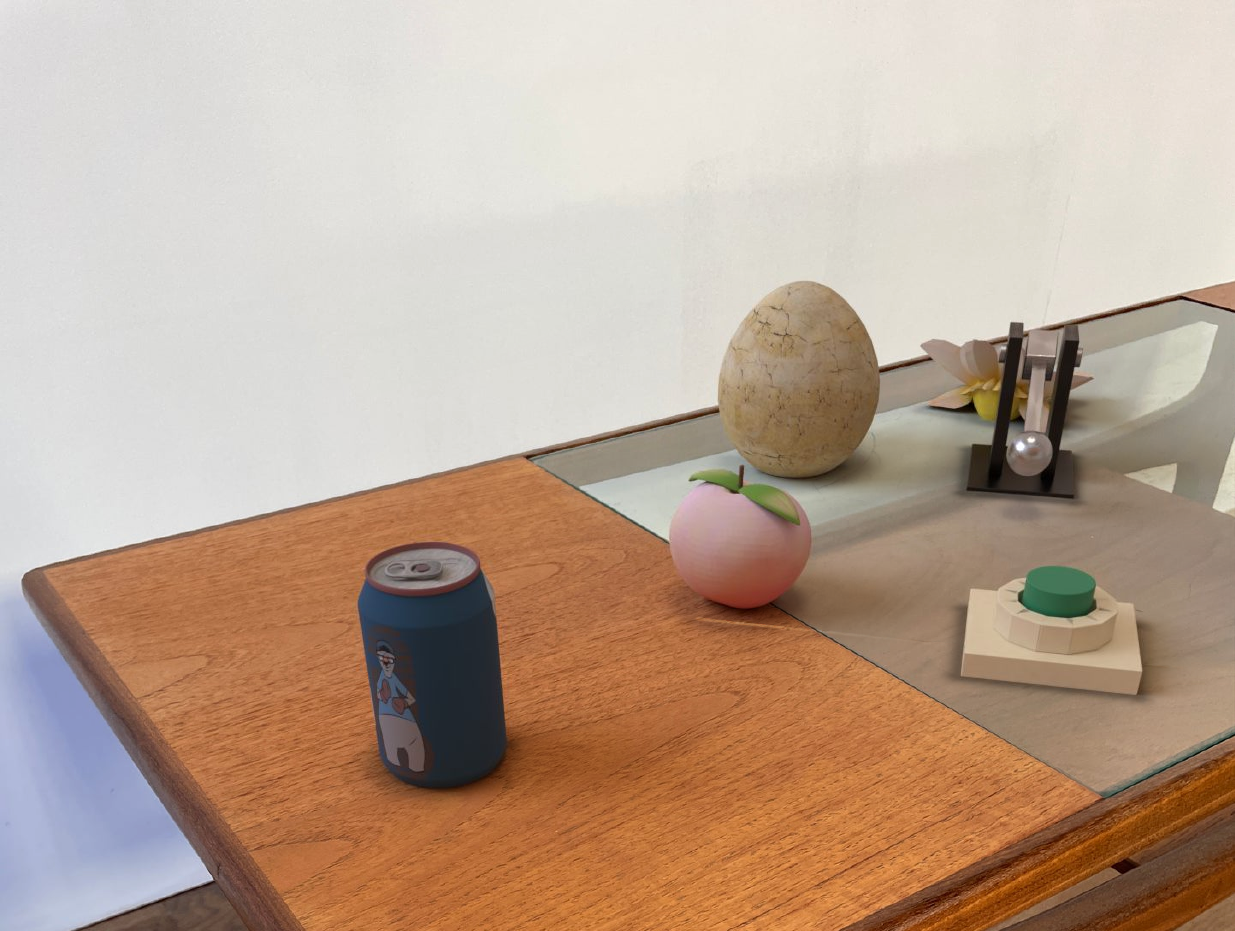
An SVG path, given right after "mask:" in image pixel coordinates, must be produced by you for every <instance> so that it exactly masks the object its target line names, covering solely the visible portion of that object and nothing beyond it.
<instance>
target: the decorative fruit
mask: <svg viewBox="0 0 1235 931" xmlns="http://www.w3.org/2000/svg"><path fill="white" fill-rule="evenodd" d="M744 475H745V465H744V464H740V465H739V466H738V474H736V473H735V472H733V471H731V470H728V469H724V468H710V469H705V470H698V471H696V472H694V473H693V474H691V475H690V477H689V479H688V482H691V483H692V482H696V481H698V480H700V481H703V482H701V483H699V484H697V485H696V486H694V487H693V488H692V489H691V490H690V491H689V493H687V495H686V496H685V497H684V498H683V500H682V501H681V502H680V504H679V505H678V506H677V509H676V510H675V512H674V514H673V516H672V518H671V521H670V524H669V528H668V529H669V530H668V543H669V550H670V555H671V558H672V561H673V564H674V566H675V568H676V571H677V572H678V574H679V576H680V578H681V579H682V580H683V582H684V583H685V584H686V585H687V586H688V587H689V588H690V589H691V590H692V591H693V592H695V593H696V594H698V595H699V596H701V597H703V598H705V599H707V600H709V601H711V602H712V601H713V602H715V603H718V604H722V605H725V606H728V607H731V608H735V609H740V610H741V609H742V610H747V609H748V610H749V609H755V608H759V607H762V606H765V605H767V604H769V603H771V602H773V601H774V600H776V599H777V598H778V597H780V596H781V595H783V594H784V593H785V592H787V590H789V589H790V588H791V587H792V586H793V585H795V584H794V583H796V581H797V580H798V579H799V577H800V576H801V574H802V573H803V571H804V569H805V568H806V566H807V563H808V560H809V558H810V555H811V550H812V528H811V523H810V521H809V519H808V515H807V514H806V511H805V510H804V508H803V506H802V505H801V504H800V503H799V502H798V500H797V499H796V498H795V497H793V496H792V495H791V494H790V493H789V492H787V491H786V490H784V489H782V488H781V487H780V488H779V487H776V486H774V485H770V484H763V483H751V482H749V481H748V480H747V479H744Z"/></svg>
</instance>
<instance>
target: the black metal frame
mask: <svg viewBox="0 0 1235 931" xmlns="http://www.w3.org/2000/svg"><path fill="white" fill-rule="evenodd" d="M1024 326H1025V323H1024V322H1021V321H1020V322H1019V321H1010V322H1009V329H1008V336H1007V342H1006V343H1007V344H1005V343H1000V345H999V348H1000V352H999V359H998V363H1004V367H1003V373H1002V380H1001V386H1000V393H999V399H998V406H997V412H996V419H995V421H994V427H993V433H992V439H991V444H984V443H983V444H982V443H981V444H980V443H972V444H971V450H970V459H969V467H968V475H967V483H966V491H967V492H978V493H992V494H993V493H994V494H1006V495H1017V496H1018V495H1020V496H1031V497H1045V498H1056V499H1057V498H1059V499H1070V500H1071V499H1072V500H1074V498H1075V485H1074V467H1073V451H1072V450H1068V449H1061V444H1062V443H1061V442H1062V437H1063V433H1064V432H1063V431H1064V427H1065V421H1066V415H1067V411H1068V410H1067V409H1068V405H1069V401H1070V400H1069V399H1070V394H1071V390H1070V389H1071V384H1072V379H1073V373H1074V371H1075V368H1081V364H1082V361H1083V352H1084V348H1083V347H1079V346H1080V332H1079V325H1078V324H1064V325H1063V331H1062V336H1061V342H1060V348H1059V354H1058V360H1057V364H1056V371H1055V372H1056V375H1055V381H1054V387H1053V392H1052V397H1051V398H1050V402H1049V405H1050V409H1049V415H1048V420H1047V426H1046V432H1044V435H1045V436H1047V438H1048V439H1049V440H1050V442H1051V445H1052V458H1051V461H1050V463H1049V465H1048V466H1047V467H1046V468H1045V469H1044V470H1043V471H1042V472H1040V473H1038V474H1036V475H1033V476H1022V475H1019V474H1017V473H1015V472H1014V471H1013V470H1012V469H1011V468H1010V466H1009V465H1008V462H1007V457H1006V453H1007V448H1008V446H1009V445H1007V441H1008V436H1009V428H1010V422H1011V421H1010V417H1011V411H1012V405H1013V399H1014V392H1015V386H1016V380H1017V374H1018V367H1019V361H1020V355H1021V349H1022V348H1023V343H1024V330H1025V329H1024Z"/></svg>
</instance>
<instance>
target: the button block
mask: <svg viewBox="0 0 1235 931" xmlns="http://www.w3.org/2000/svg"><path fill="white" fill-rule="evenodd" d="M1025 582H1026V577H1021V578H1020V577H1019V578H1015V579H1012V580H1010V581H1008V582H1007V583H1005V584H1003V585H1002V586H1000V587H999V588H998V590H991V589H980V588H970V591H969V598H968V603H967V612H966V622H965V632H964V643H963V649H962V660H961V670H960V677H966V678H975V679H984V680H985V679H986V680H993V681H1003V682H1012V683H1013V682H1014V683H1021V684H1032V685H1040V686H1047V687H1048V686H1050V687H1059V688H1068V689H1078V690H1085V691H1086V690H1087V691H1095V692H1103V693H1104V692H1105V693H1106V692H1107V693H1115V694H1122V695H1123V694H1124V695H1133V696H1137V695H1138V693H1139V692H1138V691H1139V687H1140V683H1141V680H1142V676H1143V665H1142V658H1141V648H1140V643H1139V634H1138V626H1137V619H1136V612H1135V611H1136V610H1135V604H1134V603H1131V602H1122V601H1121V602H1120V601H1118V600H1117V599H1116V598H1114V597H1113V596H1112V595H1110V593H1108V592H1106V591H1105V590H1104V589H1103V588H1101V587H1100V586H1098V585H1096V588H1095V593H1094V597H1093V602H1092V606H1091V611H1090V612H1089V614H1088V615H1087V616H1081V617H1075V618H1059V617H1049V616H1045V615H1042V614H1039V613H1036V612H1033V611H1030V610H1028V609H1027V608H1025V607H1024V606H1023V605H1022V598H1023V593H1024V587H1025Z"/></svg>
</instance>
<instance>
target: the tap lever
mask: <svg viewBox="0 0 1235 931" xmlns="http://www.w3.org/2000/svg"><path fill="white" fill-rule="evenodd" d="M1059 334H1060V331H1059V330H1045V329H1043V330H1042V329H1028V332H1027V337H1026V343H1025V349H1024V350H1025V354H1024V362H1023V370H1022V380H1029V388H1028V397H1027V406H1026V414H1025V420H1024V425H1023V431H1022V432H1020V433H1018V434H1016V435H1015V436H1014V437H1013V438H1012V439H1011V440H1010V442H1009V443H1008V445H1007V446H1008V448H1007V453H1006V457H1007V462H1008V465H1009V466H1010V468H1011V469H1012V470H1013V471H1014V472H1015V473H1017V474H1019V475H1022V476H1033V475H1036V474H1038V473H1040V472H1042V471H1043V470H1044V469H1045V468H1046V467H1047V466H1048V465H1049V463H1050V461H1051V458H1052V445H1051V442H1050V440H1049V439H1048V438H1047V436H1045V433H1044V432H1040V427H1041V417H1042V408H1043V398H1044V389H1045V381H1051V380H1052V375H1053V371H1054V370H1055V366H1056V360H1057V354H1058V342H1059Z"/></svg>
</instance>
